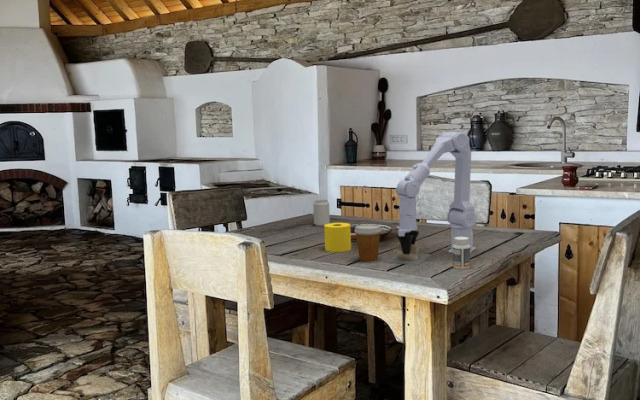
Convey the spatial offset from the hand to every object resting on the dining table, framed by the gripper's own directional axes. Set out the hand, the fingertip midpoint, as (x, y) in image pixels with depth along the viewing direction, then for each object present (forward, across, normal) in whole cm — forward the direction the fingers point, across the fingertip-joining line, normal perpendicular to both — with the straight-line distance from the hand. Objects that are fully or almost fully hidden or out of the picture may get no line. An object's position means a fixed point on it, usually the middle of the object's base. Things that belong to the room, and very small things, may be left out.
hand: (408, 252), depth 215 cm
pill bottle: (+3, +5, +20) cm, 21 cm away
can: (+3, -54, -61) cm, 82 cm away
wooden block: (+2, 0, 0) cm, 2 cm away
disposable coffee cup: (+3, +5, -13) cm, 14 cm away
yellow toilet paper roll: (+3, -8, -31) cm, 32 cm away
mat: (+2, -1, 0) cm, 3 cm away
